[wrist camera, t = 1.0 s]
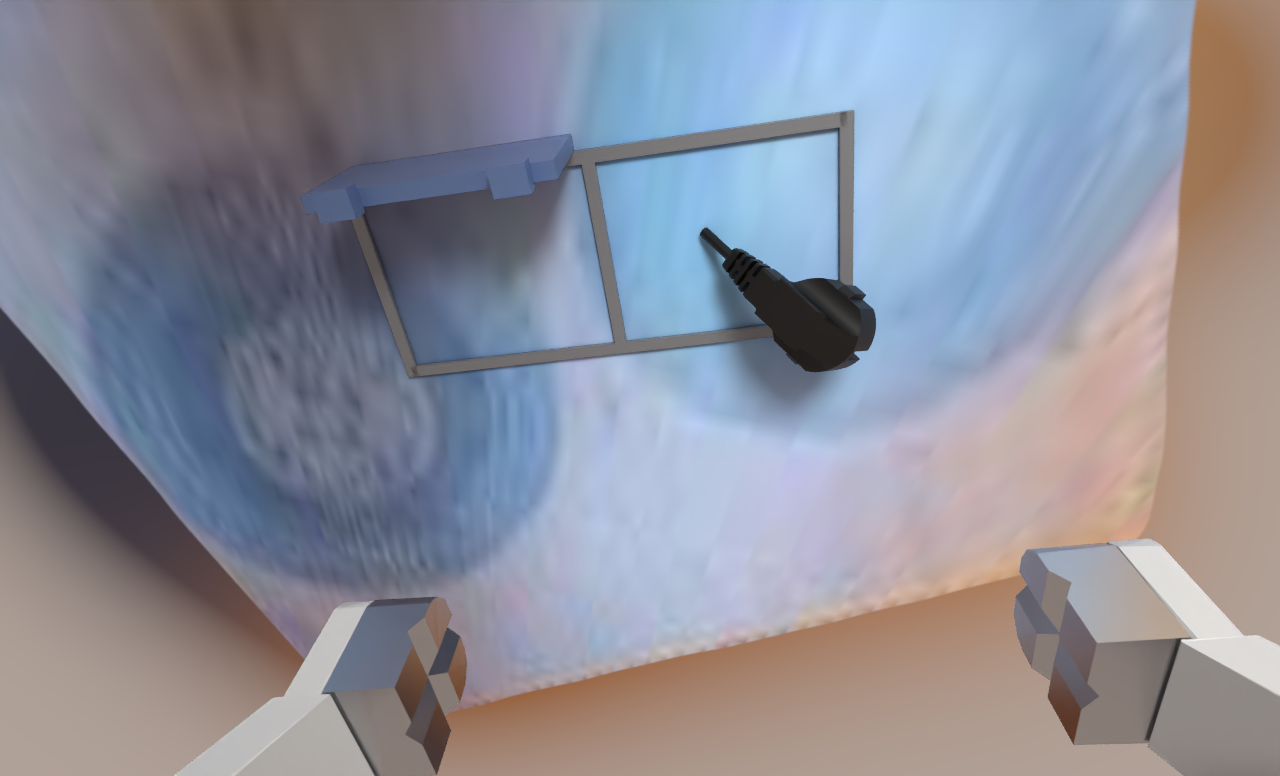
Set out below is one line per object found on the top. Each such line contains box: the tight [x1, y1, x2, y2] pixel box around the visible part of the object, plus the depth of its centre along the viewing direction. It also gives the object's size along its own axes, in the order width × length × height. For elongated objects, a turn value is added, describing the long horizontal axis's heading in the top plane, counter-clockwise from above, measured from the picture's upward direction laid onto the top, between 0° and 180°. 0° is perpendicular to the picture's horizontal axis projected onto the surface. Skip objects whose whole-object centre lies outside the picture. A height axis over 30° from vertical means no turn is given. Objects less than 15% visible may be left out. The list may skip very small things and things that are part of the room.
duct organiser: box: [300, 110, 854, 377], centre depth 41 cm, size 15×32×8 cm, turn 98°
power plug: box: [700, 228, 876, 372], centre depth 44 cm, size 6×8×12 cm
